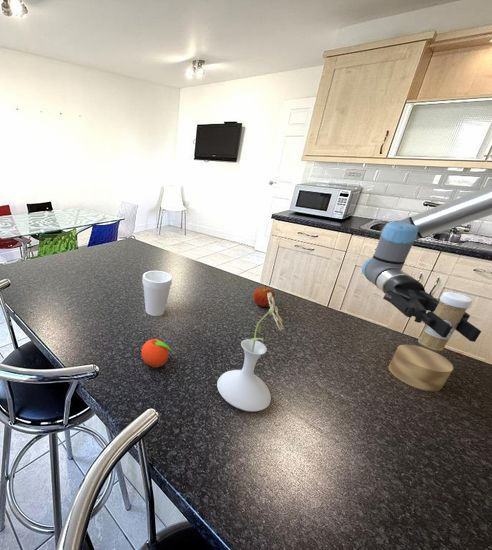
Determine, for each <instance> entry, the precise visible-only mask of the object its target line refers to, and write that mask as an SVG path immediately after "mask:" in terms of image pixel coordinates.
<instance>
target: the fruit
mask: <svg viewBox="0 0 492 550" xmlns="http://www.w3.org/2000/svg"><path fill="white" fill-rule="evenodd" d="M269 292H270V293H272V297H274V300H275V299H276V295H275V292H274V291H273V289H271V288H270V287H267V285H266V284H265V285H264V286H260V287H257V288H256V289H255V290H254V292H253V294H252V299H253V302H254V303H255V305H257V306H258V307H261V308H265V307H266V308H267V307H270V305H269V301H268V297H267V293H269Z"/></svg>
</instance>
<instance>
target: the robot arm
mask: <svg viewBox="0 0 492 550" xmlns="http://www.w3.org/2000/svg"><path fill="white" fill-rule="evenodd" d="M489 216H492V185H489V186H487V187H483V188H481V189H479V190H476V191H474V192H471V193H468V194H465V195H463V196H461V197H457V198H455V199H453V200H450V201H447V202H445V203H442V204H439V205H437V206H435V207H432V208H429V209H426V210H423V211H421V212H419V213H416V214H413V215H411V216H408V217H405V218H403V219H400V220H393V221H390V222H387V223H386V224H385V225H384V226H383V227H382V228H381V230H380V236H379V240H378V243H377V245H376V248H375V251H374V254H373V255H372V257H370V258H368V259H367V260H366V261H364V263H363V264H362V266H361V273H362V274H363V276H364V277H365V278H366V279H367V280H368V282H370V283H372V284H373V285H374V286H375V287H376V288H377V289H378V290H380V291H381V292H382V293H383V294H384V295H383V297H382V299H383V300H385V301H387V302H388V303H390V304H391V305H392V306H394V307H395V309H397V310H398V311H399V312H400V313H402V314H403V316H405V317H407V318H412V317H414V322H415V323H418V324H419V323H421V324H422V323H424V325H428V326H429V327H431V328H432V329H433V330H434V331H435V332H437V333H438V334H439V335H440V336H441V337H445V338H446V337H447V336H448V334H449V332H450V330H451V329H452V327H451V326H450V325H449V324H447V323H446V322H445V321H443V320H442V319H441V318H440V317H438V316H437V315H436V314H434V313H433V312H434V311H435V309H436V307H437V306H438V304H439V301H440V298H441V297H438V298H437V297H434V296H433V294H431V293H428V292H427V291H426V289H425V286H424V285H423V283H421V282H420V281H419V280H417V279H416V278H415V277H413V276H411V275H410V274H408V273H407V272H405V271H404V270H403V267H404V265H405V264H406V260H407V258H408V256H409V254H410V252H411V249H412V248H413V245H414V243H415V241H417V240H418V241H419V240H421V239H423V238H426V237H430V236H432V235H435V234H438V233H441V232H444V231H448V230H450V229H453V228H457V227H459V226H462V225H465V224H468V223H471V222H475V221H477V220H481V219H483V218H486V217H489ZM470 317H471V314H469V313H468V312H467V311H465V313H464V314H463V316H462V318H461V320H460V322H459V324H458V326H457V327H456V329H455V331H457V332H458V333H459V334H460V335H462V336H463V337H464V338H466V339H467V340H468V341H469V342H473V343H474V342H476V341H477V340H478V338H479V336H481V335H480V334H481V333H482V330H480V329H479V328H477V327H476V326H475V325H473V324H472V323H470V322H469V321H468V320H469V319H470Z"/></svg>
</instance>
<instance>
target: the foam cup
mask: <svg viewBox="0 0 492 550" xmlns="http://www.w3.org/2000/svg"><path fill="white" fill-rule="evenodd" d="M172 282H173V276H172V274H170V273H168V272H166V271H163V270H149V271H146V272H144V273H143V274H142V286H143V296H144V308H145V313H146V314H147V315H149V316H152V317H160V316H162V315H164V313H165V312H166V311H165V310H166V307H167V303H168V299H169V294H170V289H171V286H172V284H173V283H172Z"/></svg>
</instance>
